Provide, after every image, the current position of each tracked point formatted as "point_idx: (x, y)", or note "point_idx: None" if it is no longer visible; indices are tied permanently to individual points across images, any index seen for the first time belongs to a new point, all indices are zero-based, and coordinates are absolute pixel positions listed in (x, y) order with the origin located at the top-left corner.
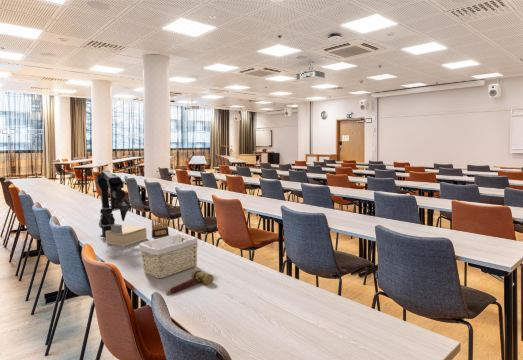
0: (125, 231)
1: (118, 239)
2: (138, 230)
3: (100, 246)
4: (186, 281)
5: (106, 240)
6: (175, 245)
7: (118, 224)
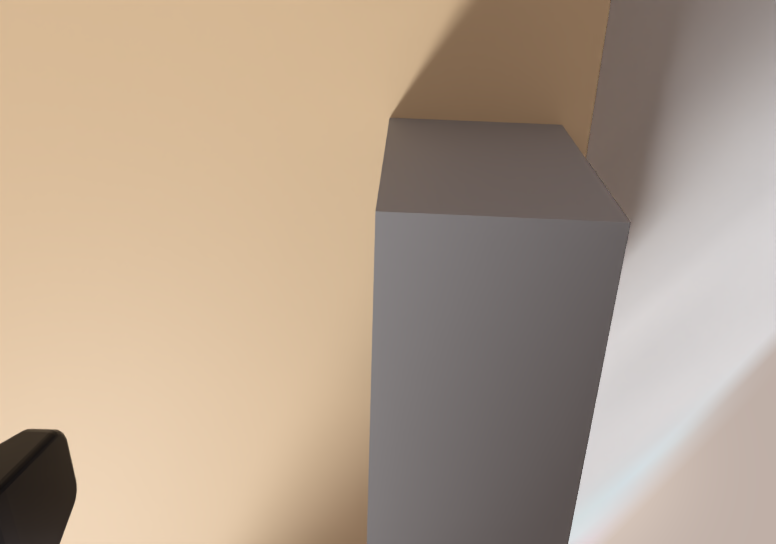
0: (279, 69)
1: None
2: None
3: (726, 312)
4: None
5: None
6: None
7: (375, 400)
